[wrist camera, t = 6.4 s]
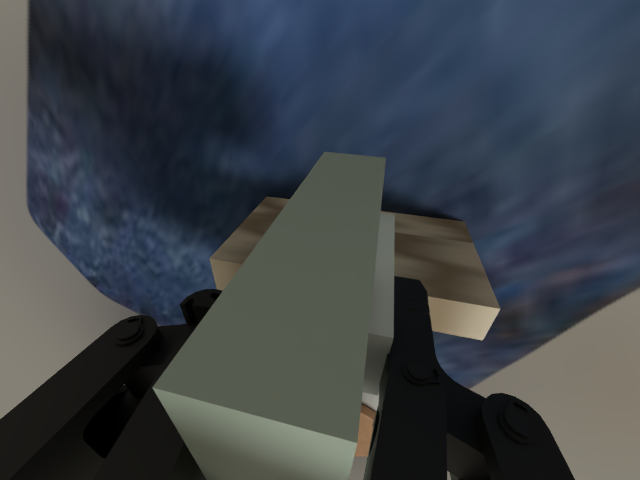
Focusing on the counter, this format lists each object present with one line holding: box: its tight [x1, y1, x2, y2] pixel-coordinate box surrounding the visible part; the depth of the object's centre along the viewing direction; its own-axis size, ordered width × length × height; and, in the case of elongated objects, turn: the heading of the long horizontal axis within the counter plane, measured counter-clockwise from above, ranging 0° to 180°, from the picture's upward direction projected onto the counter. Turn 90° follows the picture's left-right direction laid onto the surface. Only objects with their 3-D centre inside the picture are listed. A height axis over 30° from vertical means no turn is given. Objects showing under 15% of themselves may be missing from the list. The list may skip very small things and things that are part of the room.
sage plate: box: [152, 152, 386, 480], centre depth 12 cm, size 16×2×10 cm, turn 178°
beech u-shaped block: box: [210, 197, 500, 340], centre depth 20 cm, size 16×2×9 cm, turn 88°
